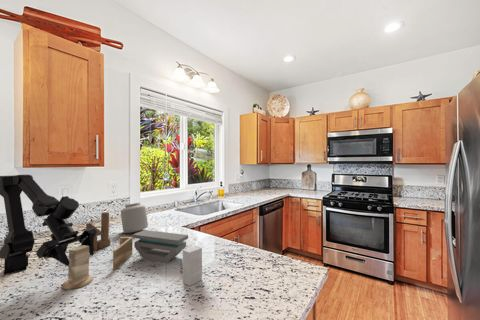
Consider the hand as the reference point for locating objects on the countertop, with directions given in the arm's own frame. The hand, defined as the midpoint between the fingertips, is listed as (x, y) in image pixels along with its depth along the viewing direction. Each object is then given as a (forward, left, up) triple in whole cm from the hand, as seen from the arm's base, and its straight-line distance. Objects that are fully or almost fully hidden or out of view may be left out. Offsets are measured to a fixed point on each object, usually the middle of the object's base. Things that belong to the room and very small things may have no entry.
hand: (81, 259), depth 80 cm
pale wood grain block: (-1, +1, -8) cm, 8 cm away
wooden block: (+12, +35, -9) cm, 38 cm away
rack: (+15, +11, -9) cm, 21 cm away
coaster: (-1, +1, -9) cm, 9 cm away
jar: (+35, +53, -9) cm, 65 cm away
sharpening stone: (+30, +1, -9) cm, 32 cm away
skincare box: (+30, -27, -9) cm, 41 cm away
